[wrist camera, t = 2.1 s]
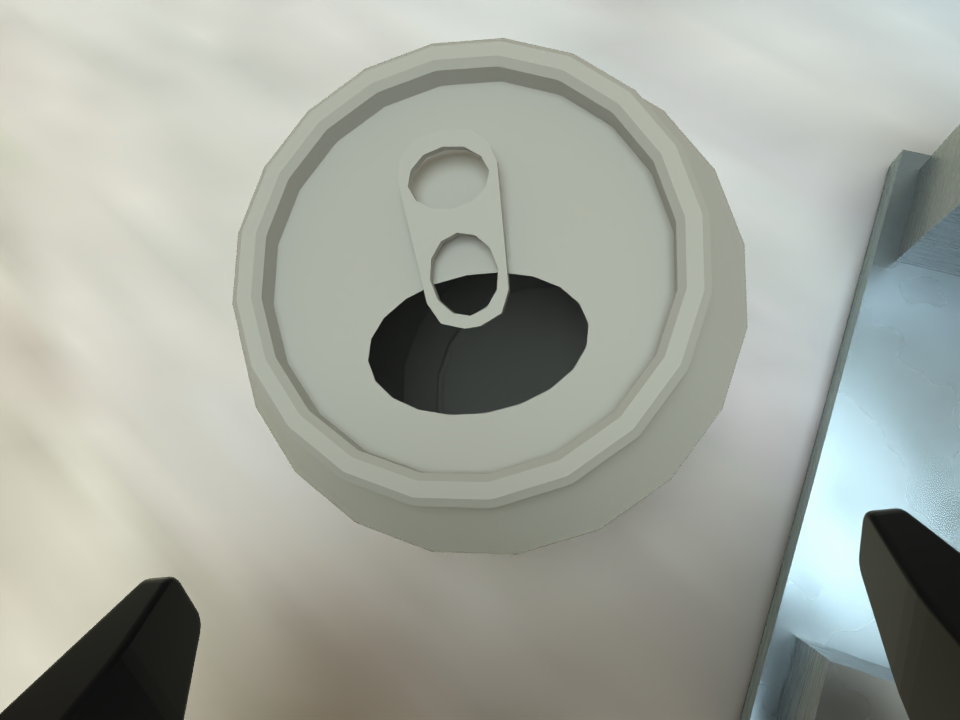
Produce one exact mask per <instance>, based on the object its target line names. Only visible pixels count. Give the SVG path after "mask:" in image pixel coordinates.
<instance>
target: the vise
mask: <svg viewBox="0 0 960 720" xmlns="http://www.w3.org/2000/svg"><path fill="white" fill-rule="evenodd" d="M892 508H899V509H902V510H905V511H906V512H908V513H909V514H911V515H912V516H913V517H914V518H916V519H917V520H918V521H920V522H921V523H922V524H924V525H925V526H926V527H927V528H929V529H930V530H931V531H933V532H934V533H935V534H936V535H938V536H939V537H940V538H942V539H943V540H944V541H945V542H947V543H948V544H949V545H951V546H952V547H953V548H955V549H956V550H957V551H958V552H960V124H959V126H958V127H957V128H956V129H955V130H954V131H953V132H952V133H951V135H950V136H949V137H948V138H947V139H946V140H945V141H944V142H943V144H942V145H941V146H940V147H939V148H938V149H937V150H936V151H935V153H934V154H933V155H932V156H930V155H925V154H920V153H915V152H911V151H906V150H902V152H901V153H900V154H899V155H898V157H897V158H896V159H895V160H894V162H893V163H892V164H891V165H890V167H889V171H888V175H887V178H886V182H885V186H884V189H883V193H882V197H881V201H880V204H879V208H878V212H877V215H876V219H875V223H874V226H873V230H872V234H871V238H870V241H869V245H868V249H867V252H866V256H865V260H864V263H863V267H862V271H861V275H860V278H859V282H858V286H857V289H856V293H855V297H854V301H853V304H852V308H851V312H850V315H849V319H848V323H847V326H846V330H845V334H844V338H843V341H842V345H841V349H840V352H839V356H838V360H837V363H836V367H835V371H834V375H833V378H832V382H831V386H830V389H829V393H828V397H827V400H826V404H825V408H824V412H823V415H822V419H821V423H820V426H819V430H818V434H817V437H816V441H815V445H814V449H813V452H812V456H811V460H810V463H809V467H808V471H807V474H806V478H805V482H804V486H803V489H802V493H801V497H800V500H799V504H798V508H797V511H796V515H795V519H794V523H793V526H792V530H791V534H790V537H789V541H788V545H787V548H786V552H785V556H784V560H783V563H782V567H781V571H780V574H779V578H778V582H777V586H776V589H775V593H774V597H773V600H772V604H771V608H770V611H769V615H768V619H767V623H766V626H765V630H764V634H763V637H762V641H761V645H760V648H759V652H758V656H757V660H756V663H755V667H754V671H753V674H752V678H751V682H750V685H749V689H748V693H747V697H746V700H745V704H744V708H743V711H742V715H741V719H740V720H909V717H908V715H907V713H906V710H905V708H904V705H903V703H902V701H901V698H900V696H899V693H898V690H897V687H896V684H895V681H894V678H893V675H892V672H891V669H890V665H889V662H888V659H887V656H886V653H885V649H884V646H883V643H882V640H881V637H880V633H879V630H878V627H877V624H876V621H875V617H874V614H873V611H872V608H871V605H870V601H869V598H868V595H867V592H866V589H865V585H864V582H863V579H862V575H861V571H860V566H859V550H860V542H861V533H862V524H863V518H864V515H865V514H866V513H867V512H868V511H871V510H882V509H892Z"/></svg>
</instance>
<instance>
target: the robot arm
mask: <svg viewBox="0 0 960 720" xmlns="http://www.w3.org/2000/svg"><path fill="white" fill-rule="evenodd" d="M859 566H860V571H861V575H862V579H863V582H864V585H865V589H866V592H867V595H868V598H869V601H870V605H871V608H872V611H873V614H874V617H875V621H876V624H877V627H878V630H879V633H880V637H881V640H882V643H883V646H884V649H885V653H886V656H887V659H888V662H889V665H890V669H891V672H892V675H893V678H894V681H895V684H896V687H897V690H898V693H899V696H900V698H901V701H902V703H903V705H904V708H905V710H906V713H907V715H908V717H909V720H960V552H958V551H957V550H956V549H955V548H953V547H952V546H951V545H949V544H948V543H947V542H945V541H944V540H943V539H942V538H940V537H939V536H938V535H936V534H935V533H934V532H933V531H931V530H930V529H929V528H927V527H926V526H925V525H924V524H922V523H921V522H920V521H918V520H917V519H916V518H914V517H913V516H912V515H911V514H909V513H908V512H906V511H905V510H902V509H899V508H892V509H882V510H871V511H868V512H867V513H866V514H865V515H864V518H863V524H862V533H861V542H860V550H859ZM200 627H201V623H200V617H199V614H198V612H197V610H196V608H195V606H194V605H193V603H192V601H191V600H190V598H189V596H188V595H187V593H186V592H185V590H184V588H183V587H182V585H181V583H180V582H179V581H178V580H177V579H175V578H174V577H162V578H151V579H147V580H145V581H143V582H141V583H140V584H139V585H138V586H137V587H136V588H135V589H134V590H132V591H131V592H130V593H129V594H128V595H127V596H126V597H125V598H124V599H123V600H122V601H121V602H120V603H119V604H117V605H116V606H115V607H114V608H113V609H112V610H111V611H110V612H109V613H108V614H107V615H106V616H105V617H103V618H102V619H101V620H100V621H99V622H98V623H97V624H96V625H95V626H94V627H93V628H92V629H91V630H90V631H88V632H87V633H86V634H85V635H84V636H83V637H82V638H81V639H80V640H79V641H78V642H77V643H76V644H75V645H73V646H72V647H71V648H70V649H69V650H68V651H67V652H66V653H65V654H64V655H63V656H62V657H61V658H60V659H58V660H57V661H56V662H55V663H54V664H53V665H52V666H51V667H50V668H49V669H48V670H47V671H46V672H44V673H43V674H42V675H41V676H40V677H39V678H38V679H37V680H36V681H35V682H34V683H33V684H32V685H31V686H29V687H28V688H27V689H26V690H25V691H24V692H23V693H22V694H21V695H20V696H19V697H18V698H17V699H16V700H14V701H13V702H12V703H11V704H10V705H9V706H8V707H7V708H6V709H5V710H4V711H3V712H2V713H1V714H0V720H184V715H185V710H186V705H187V699H188V694H189V689H190V683H191V678H192V673H193V667H194V662H195V657H196V651H197V646H198V641H199V635H200Z"/></svg>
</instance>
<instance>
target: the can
mask: <svg viewBox="0 0 960 720" xmlns="http://www.w3.org/2000/svg"><path fill="white" fill-rule="evenodd" d="M233 307H234V312H235V316H236V320H237V325H238V329H239V336H240V340H241V344H242V349H243V353H244V357H245V362H246V366H247V371H248V375H249V379H250V384H251V388H252V392H253V397H254V401H255V406H256V408H257V410H258V411H259V413H260V414H261V416H262V418H263V419H264V421H265V423H266V424H267V426H268V428H269V429H270V431H271V433H272V434H273V436H274V438H275V439H276V441H277V443H278V444H279V446H280V448H281V449H282V451H283V452H284V454H285V456H286V457H287V459H288V461H289V462H290V464H291V466H292V467H293V469H294V471H295V472H296V473H297V474H298V475H300V476H301V477H302V478H303V479H304V480H306V481H307V482H308V483H309V484H310V485H312V486H313V487H314V488H315V489H316V490H317V491H319V492H320V493H321V494H322V495H323V496H325V497H326V498H327V499H328V500H329V501H331V502H332V503H333V504H334V505H335V506H337V507H338V508H339V509H340V510H341V511H342V512H344V513H345V514H346V515H347V516H348V517H350V518H351V519H352V520H353V521H354V522H356V523H358V524H361V525H364V526H366V527H369V528H372V529H374V530H377V531H379V532H382V533H385V534H387V535H390V536H392V537H395V538H398V539H400V540H403V541H405V542H408V543H411V544H413V545H416V546H418V547H421V548H424V549H426V550H429V551H432V552H460V553H487V554H514V555H516V554H519V553H523V552H526V551H529V550H533V549H536V548H539V547H543V546H546V545H549V544H553V543H556V542H559V541H563V540H566V539H570V538H573V537H576V536H580V535H583V534H586V533H590V532H593V531H596V530H599V529H601V528H602V527H603V526H605V525H606V524H608V523H609V522H611V521H612V520H613V519H615V518H616V517H618V516H619V515H620V514H622V513H623V512H625V511H626V510H628V509H629V508H630V507H632V506H633V505H635V504H636V503H638V502H639V501H640V500H642V499H643V498H645V497H646V496H647V495H649V494H650V493H652V492H653V491H655V490H656V489H657V488H659V487H660V486H662V485H663V484H664V483H666V482H667V481H669V480H670V479H671V478H672V477H673V475H674V474H675V472H676V471H677V470H678V468H679V467H680V466H681V464H682V463H683V462H684V460H685V459H686V457H687V456H688V455H689V453H690V452H691V451H692V449H693V448H694V446H695V445H696V444H697V442H698V441H699V440H700V438H701V437H702V436H703V434H704V433H705V431H706V430H707V429H708V427H709V426H710V425H711V423H712V422H713V420H714V419H715V418H716V416H717V415H718V414H719V412H720V411H721V410H722V407H723V404H724V401H725V398H726V395H727V391H728V388H729V385H730V382H731V378H732V375H733V372H734V369H735V365H736V362H737V359H738V356H739V353H740V349H741V346H742V343H743V340H744V336H745V333H746V330H747V303H746V276H745V249H744V242H743V240H742V237H741V235H740V232H739V230H738V227H737V225H736V222H735V219H734V217H733V214H732V212H731V209H730V207H729V204H728V202H727V199H726V197H725V194H724V192H723V189H722V187H721V184H720V182H719V179H718V176H717V174H716V171H715V169H714V168H713V167H712V166H711V165H710V164H709V162H708V161H707V160H706V159H705V158H704V157H703V156H702V154H701V153H700V152H699V151H698V150H697V149H696V147H695V146H694V145H693V144H692V143H691V142H690V140H689V139H688V138H687V137H686V136H685V135H684V134H683V132H682V131H681V130H680V129H679V128H678V127H677V125H676V124H675V123H674V122H673V121H672V120H671V118H670V117H669V116H668V115H667V114H666V113H665V112H664V111H663V110H662V109H660V108H658V107H657V106H655V105H653V104H651V103H650V102H648V101H646V100H645V99H643V98H642V97H641V96H640V95H639V94H638V93H637V92H636V90H634V89H632V88H631V87H629V86H627V85H626V84H624V83H622V82H621V81H619V80H617V79H615V78H614V77H612V76H610V75H609V74H607V73H605V72H604V71H602V70H600V69H598V68H597V67H595V66H593V65H592V64H590V63H588V62H587V61H585V60H583V59H581V58H580V57H578V56H576V55H575V54H572V53H568V52H563V51H559V50H554V49H550V48H545V47H541V46H536V45H532V44H527V43H523V42H518V41H514V40H509V39H505V38H500V39H487V40H474V41H461V42H448V43H435V44H430V45H427V46H425V47H422V48H419V49H417V50H414V51H412V52H409V53H406V54H404V55H401V56H398V57H396V58H393V59H390V60H388V61H385V62H382V63H380V64H377V65H374V66H372V67H369V68H366V69H364V70H363V71H362V72H360V73H359V74H358V75H356V76H355V77H354V78H352V79H351V80H350V81H348V82H347V83H346V84H344V85H343V86H341V87H340V88H339V89H337V90H336V91H335V92H333V93H332V94H331V95H329V96H328V97H327V98H325V99H324V100H322V101H321V102H320V103H318V104H317V105H316V106H314V107H313V108H312V109H310V110H309V111H308V112H307V113H306V114H305V116H304V117H303V118H302V120H301V121H300V122H299V123H298V125H297V126H296V127H295V129H294V130H293V131H292V132H291V134H290V135H289V136H288V138H287V139H286V140H285V141H284V143H283V144H282V145H281V147H280V148H279V149H278V150H277V152H276V153H275V154H274V156H273V157H272V158H271V160H270V161H269V162H268V163H267V165H266V166H265V167H264V170H263V172H262V175H261V177H260V180H259V182H258V185H257V187H256V190H255V192H254V195H253V197H252V200H251V202H250V205H249V207H248V210H247V213H246V215H245V218H244V220H243V223H242V225H241V228H240V230H239V233H238V244H237V256H236V267H235V279H234V291H233Z"/></svg>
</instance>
